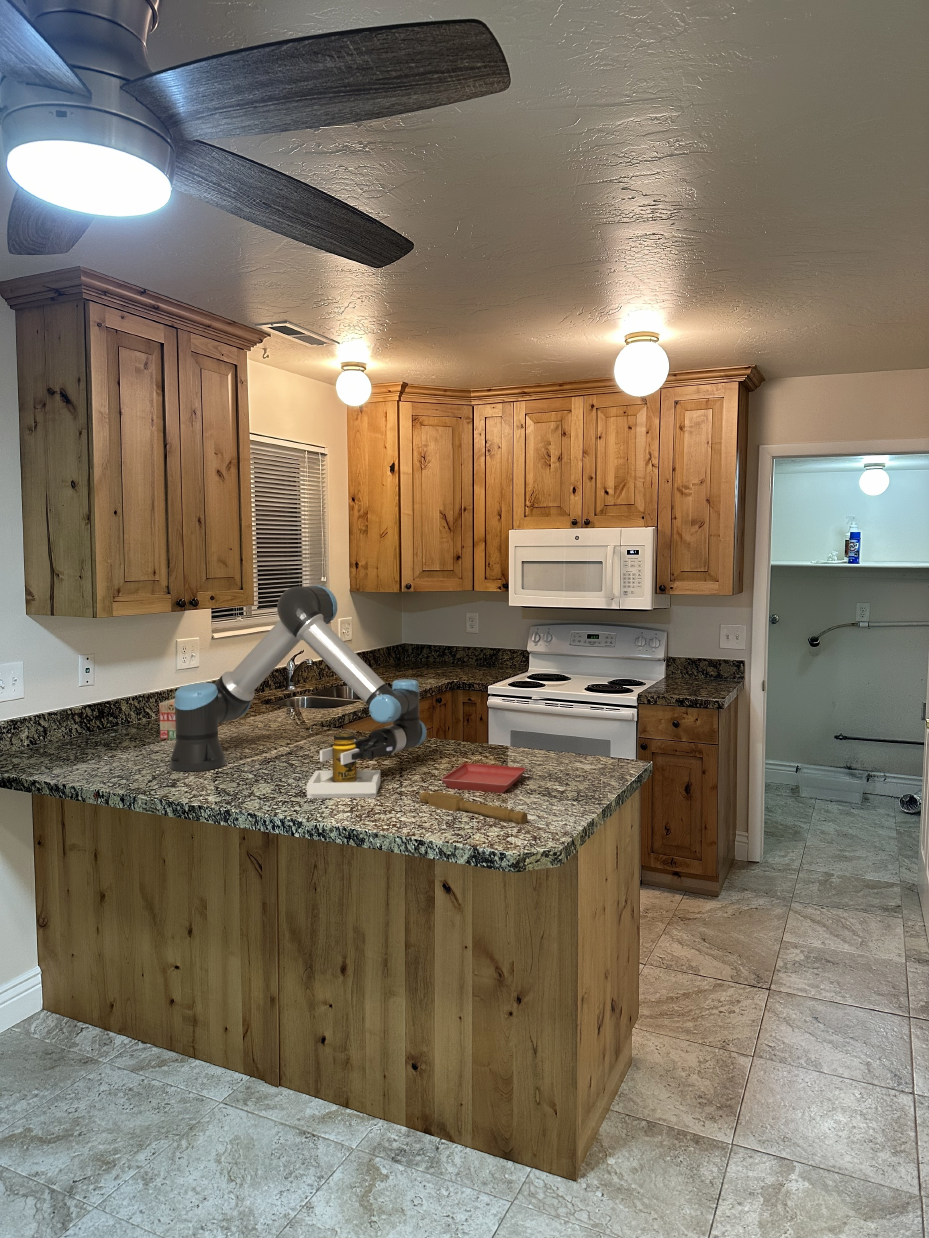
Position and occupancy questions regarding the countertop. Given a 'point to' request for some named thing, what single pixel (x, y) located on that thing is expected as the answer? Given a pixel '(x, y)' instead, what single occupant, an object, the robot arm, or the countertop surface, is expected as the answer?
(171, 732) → the stack of blocks
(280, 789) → the countertop surface
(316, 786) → the tray
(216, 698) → the robot arm
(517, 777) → the plant saucer
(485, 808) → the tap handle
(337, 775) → the condiment
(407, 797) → the countertop surface
